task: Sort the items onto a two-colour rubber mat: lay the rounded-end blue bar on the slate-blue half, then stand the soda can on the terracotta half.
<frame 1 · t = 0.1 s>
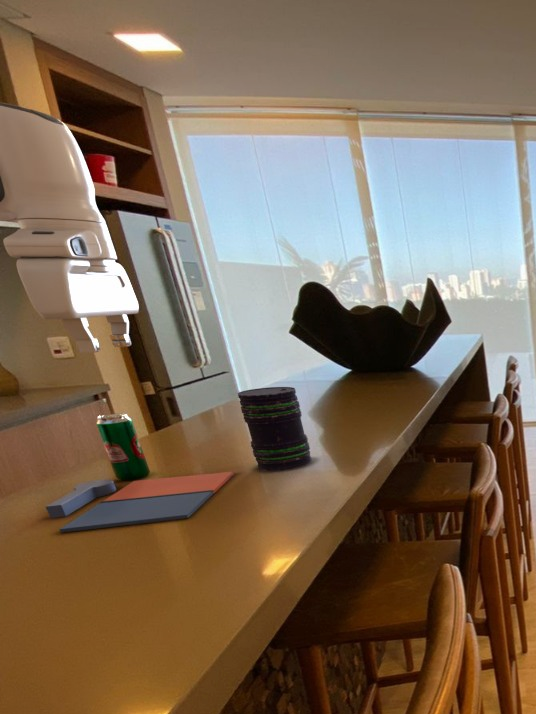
hand: (107, 349, 83), 25 cm above the counter, tool pointing down, fingers open, 8 cm apart
soda can: (134, 478, 109), on the counter
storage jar: (285, 465, 116), on the counter
rounded-end blue bar: (75, 506, 94), on the counter
sorting mat: (159, 499, 97), on the counter
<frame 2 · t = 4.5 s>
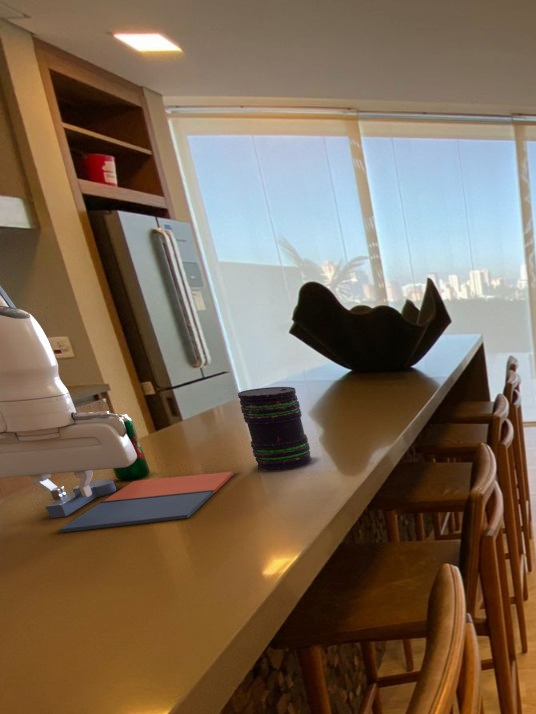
hand: (71, 497, 93), 2 cm above the counter, tool pointing down, fingers closed on rounded-end blue bar, 2 cm apart
rounded-end blue bar: (75, 506, 94), on the counter, touching gripper
everything else where it was.
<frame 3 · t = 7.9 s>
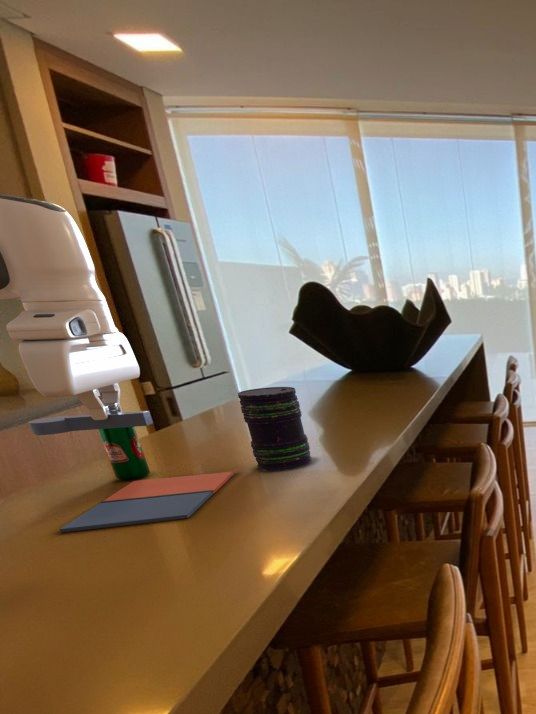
hand: (108, 416, 87), 15 cm above the counter, tool pointing down, fingers closed on rounded-end blue bar
rounded-end blue bar: (112, 427, 88), point 14 cm above the counter, touching gripper
everything else where it was.
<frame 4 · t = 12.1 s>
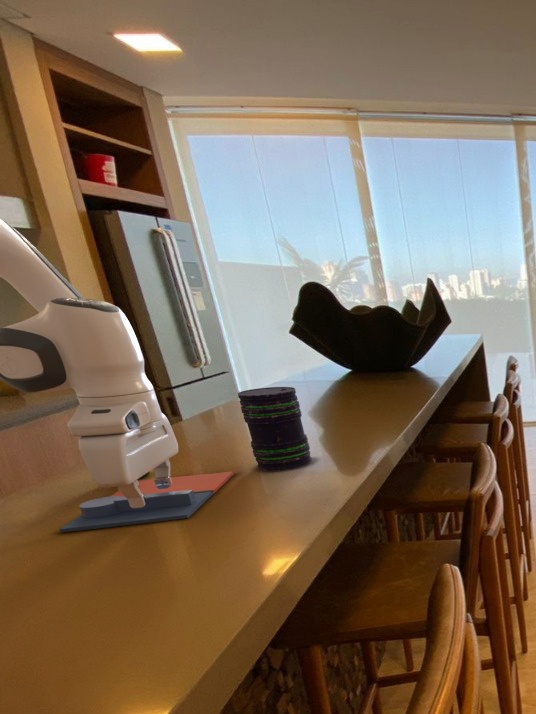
hand: (153, 496, 91), 2 cm above the counter, tool pointing down, fingers open, 8 cm apart
rounded-end blue bar: (157, 506, 92), point 1 cm above the counter, touching sorting mat
everything else where it was.
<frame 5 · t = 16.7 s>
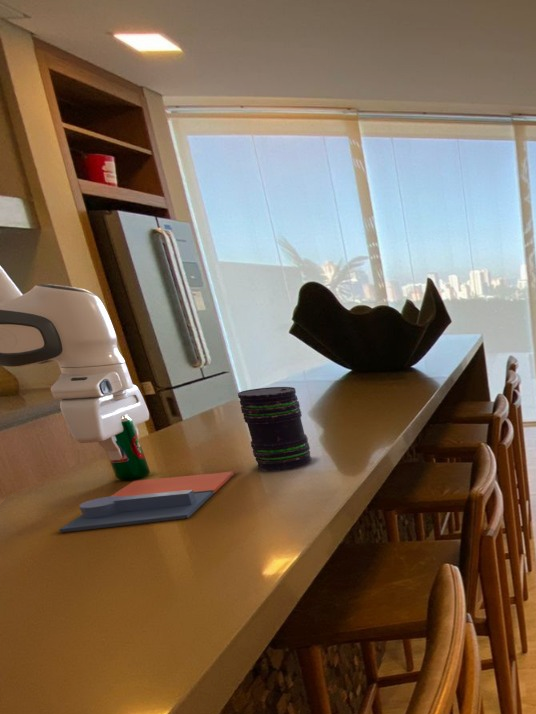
hand: (125, 454, 107), 5 cm above the counter, tool pointing down, fingers closed on soda can, 5 cm apart
soda can: (134, 478, 109), on the counter, touching gripper
everything else where it was.
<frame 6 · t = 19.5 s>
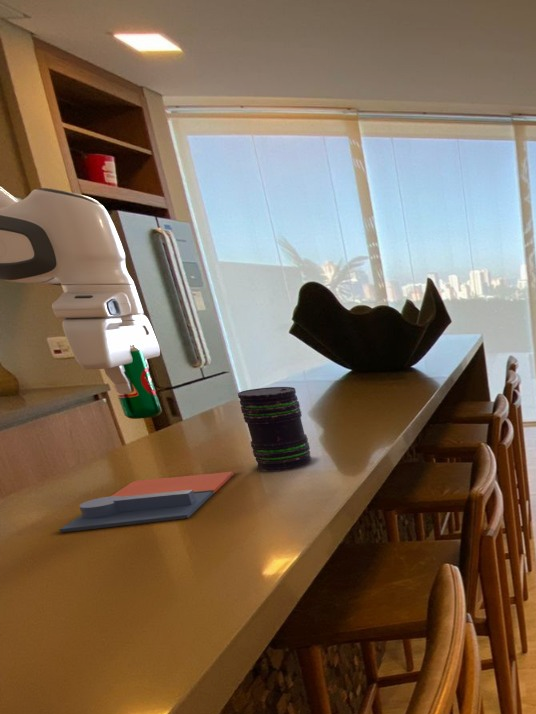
hand: (135, 390, 96), 18 cm above the counter, tool pointing down, fingers closed on soda can, 5 cm apart
soda can: (144, 417, 98), point 13 cm above the counter, touching gripper
everything else where it was.
when the fingers open (5 cm above the counter, at t = 22.8 s): soda can stays where it is, resting on sorting mat.
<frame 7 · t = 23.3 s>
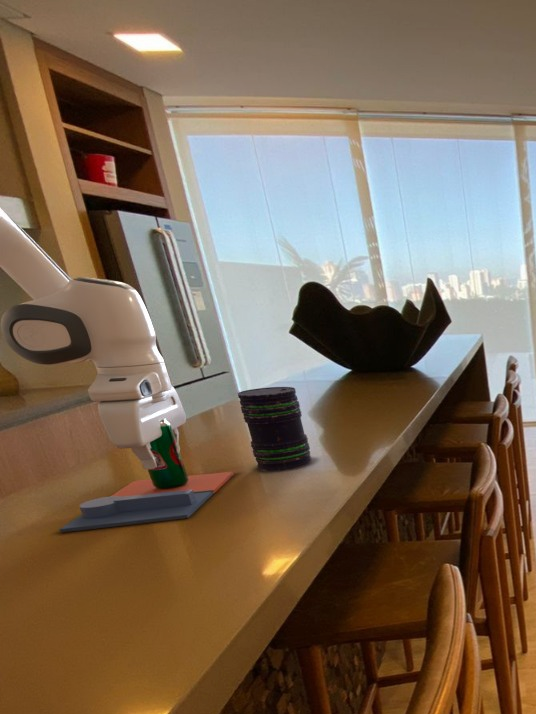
hand: (163, 460, 100), 5 cm above the counter, tool pointing down, fingers open, 8 cm apart
soda can: (172, 486, 102), resting on sorting mat
everything else where it was.
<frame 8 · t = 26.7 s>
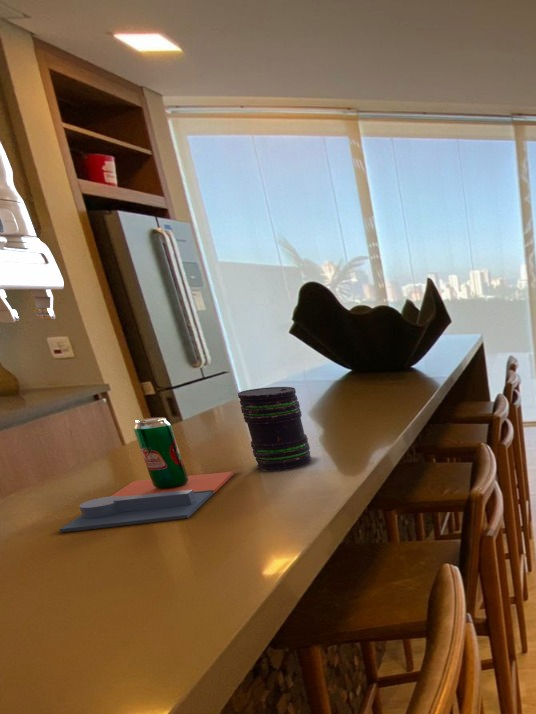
hand: (29, 321, 89), 29 cm above the counter, tool pointing down, fingers open, 8 cm apart
nothing on the counter moved.
at the end: rounded-end blue bar inside the target area (1.1 cm from its centre), point 0.6 cm above the counter; soda can inside the target area (0.4 cm from its centre), resting on sorting mat; soda can tilted 0° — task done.
